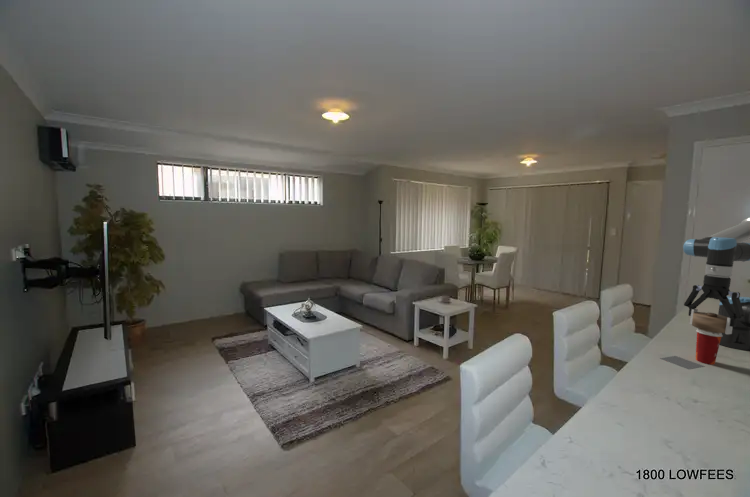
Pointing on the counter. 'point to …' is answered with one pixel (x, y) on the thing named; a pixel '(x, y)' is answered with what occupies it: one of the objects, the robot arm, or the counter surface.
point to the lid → (709, 321)
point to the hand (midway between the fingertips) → (709, 328)
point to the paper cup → (707, 346)
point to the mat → (682, 362)
